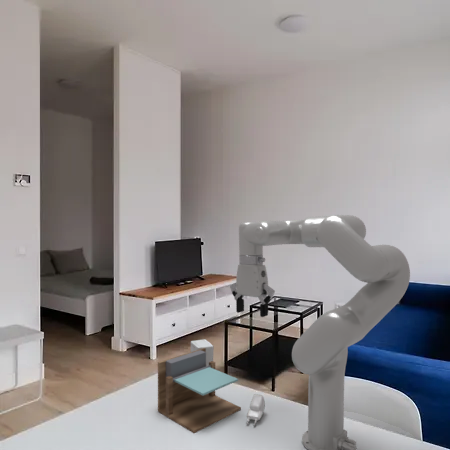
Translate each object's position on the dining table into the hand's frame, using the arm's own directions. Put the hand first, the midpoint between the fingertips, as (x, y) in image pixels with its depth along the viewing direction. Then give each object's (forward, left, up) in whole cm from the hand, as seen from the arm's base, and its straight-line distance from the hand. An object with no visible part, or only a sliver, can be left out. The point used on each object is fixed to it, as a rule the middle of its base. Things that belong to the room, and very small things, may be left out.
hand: (251, 313), depth 128 cm
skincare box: (+27, -3, -32) cm, 42 cm away
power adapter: (-4, +2, -32) cm, 32 cm away
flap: (+16, +11, -21) cm, 29 cm away
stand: (+12, +11, -32) cm, 36 cm away
